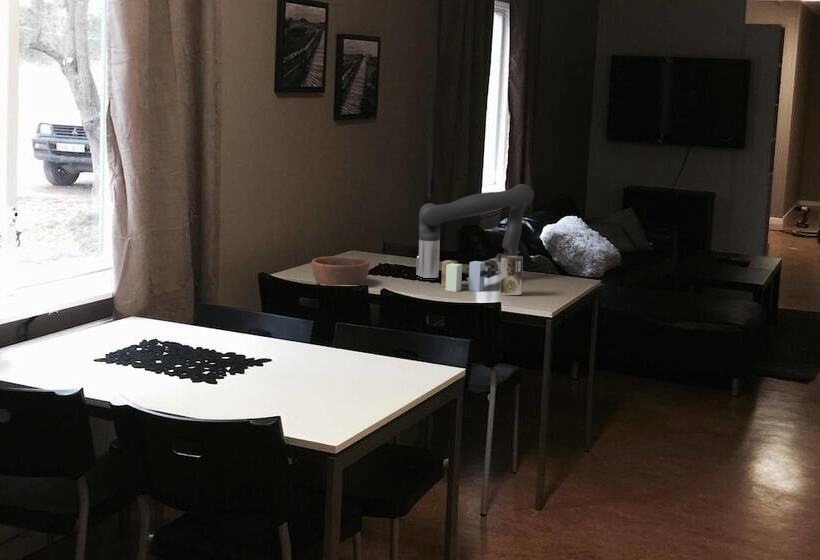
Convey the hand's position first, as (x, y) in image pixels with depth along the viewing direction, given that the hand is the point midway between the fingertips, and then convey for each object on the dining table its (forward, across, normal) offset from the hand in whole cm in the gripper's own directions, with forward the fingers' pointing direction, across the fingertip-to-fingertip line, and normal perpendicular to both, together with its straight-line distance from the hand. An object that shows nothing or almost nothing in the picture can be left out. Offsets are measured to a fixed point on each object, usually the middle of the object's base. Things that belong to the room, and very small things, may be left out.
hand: (474, 273), depth 465 cm
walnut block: (-3, -13, +8) cm, 15 cm away
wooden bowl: (+20, -54, +8) cm, 58 cm away
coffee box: (-3, +16, +8) cm, 18 cm away
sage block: (+3, -8, +8) cm, 11 cm away
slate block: (-3, 0, +8) cm, 8 cm away
